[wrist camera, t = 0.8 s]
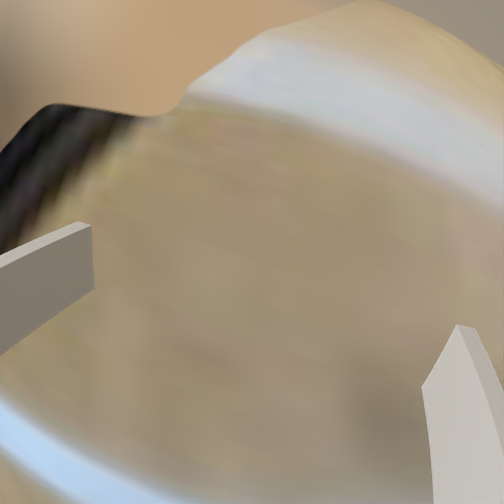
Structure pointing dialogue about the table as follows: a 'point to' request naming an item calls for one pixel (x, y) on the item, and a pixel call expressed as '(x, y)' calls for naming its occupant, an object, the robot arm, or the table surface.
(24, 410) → the table surface
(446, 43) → the table surface
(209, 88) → the table surface
